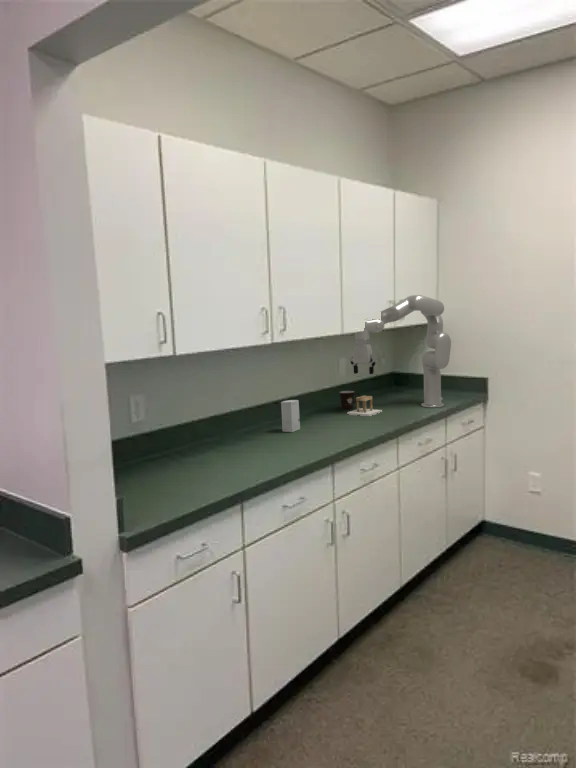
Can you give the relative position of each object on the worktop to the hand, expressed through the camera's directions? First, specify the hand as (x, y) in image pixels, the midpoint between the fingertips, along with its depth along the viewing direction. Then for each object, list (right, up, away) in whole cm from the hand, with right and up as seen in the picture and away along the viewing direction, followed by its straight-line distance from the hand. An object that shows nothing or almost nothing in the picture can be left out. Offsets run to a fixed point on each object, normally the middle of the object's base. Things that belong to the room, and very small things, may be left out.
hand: (363, 373), depth 322 cm
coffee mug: (-5, -20, +19) cm, 28 cm away
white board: (+1, -22, +3) cm, 22 cm away
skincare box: (-40, -29, -33) cm, 59 cm away
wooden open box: (+1, -21, +3) cm, 21 cm away
